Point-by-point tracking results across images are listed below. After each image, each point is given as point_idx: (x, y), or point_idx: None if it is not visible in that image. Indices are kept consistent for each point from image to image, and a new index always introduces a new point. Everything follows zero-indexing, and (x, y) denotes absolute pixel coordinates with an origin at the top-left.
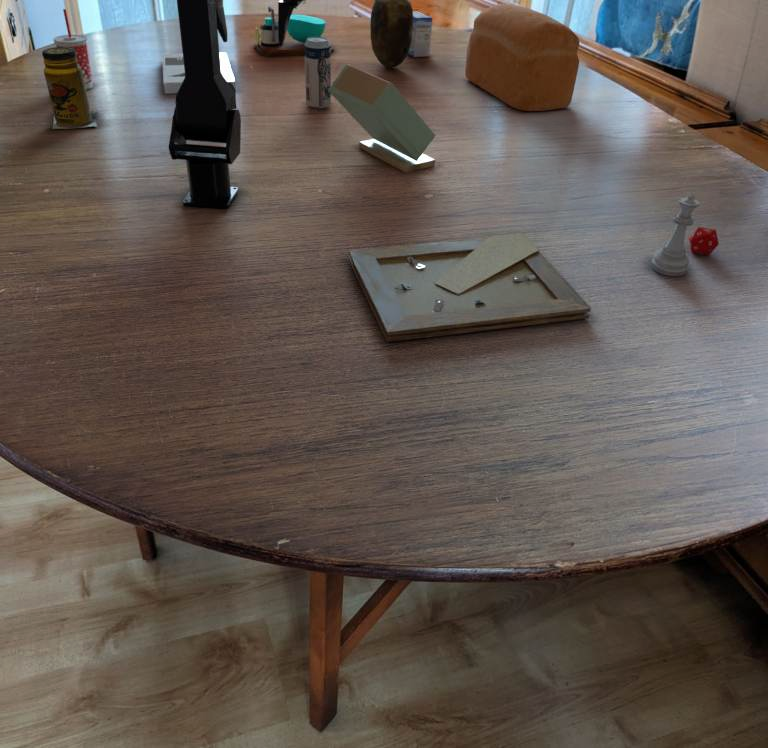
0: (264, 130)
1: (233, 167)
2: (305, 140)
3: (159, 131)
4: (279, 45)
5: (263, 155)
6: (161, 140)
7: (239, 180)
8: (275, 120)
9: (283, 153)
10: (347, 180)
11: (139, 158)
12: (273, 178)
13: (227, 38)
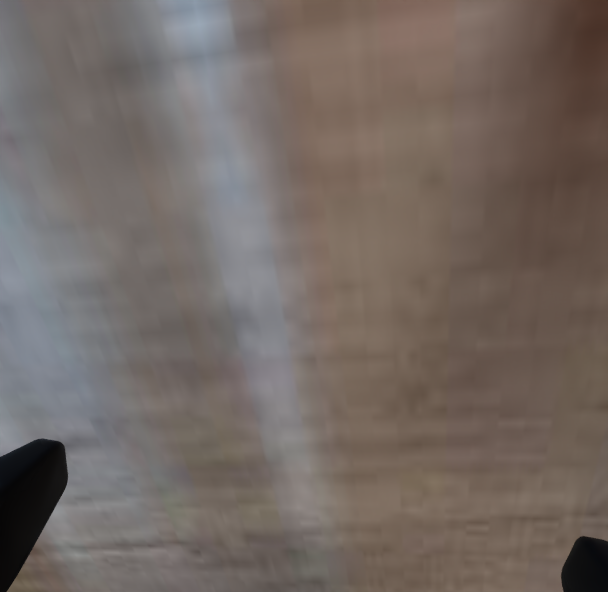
0: (357, 219)
1: (300, 506)
2: (513, 312)
3: (12, 258)
4: (563, 584)
5: (371, 436)
6: (53, 335)
7: (326, 569)
8: (396, 84)
9: (432, 422)
10: None
11: None
12: (406, 563)
13: (51, 451)
